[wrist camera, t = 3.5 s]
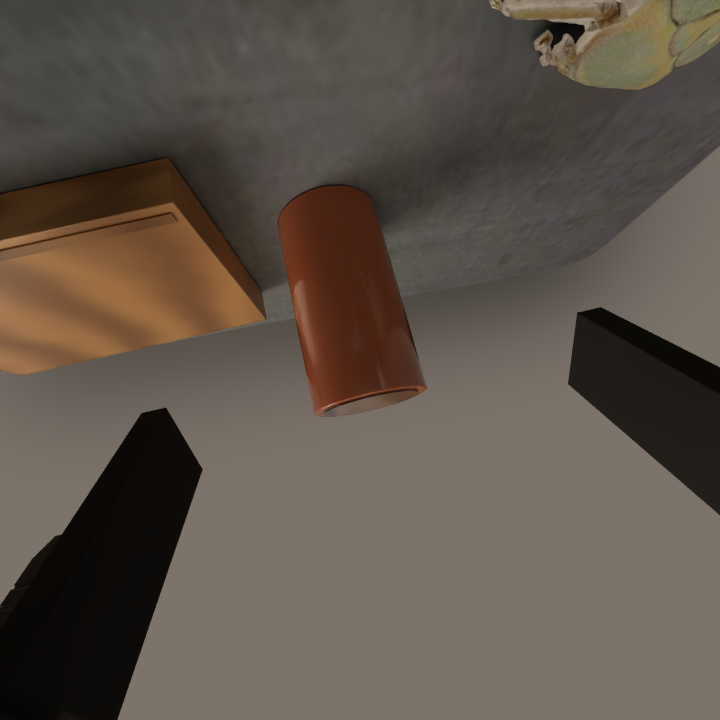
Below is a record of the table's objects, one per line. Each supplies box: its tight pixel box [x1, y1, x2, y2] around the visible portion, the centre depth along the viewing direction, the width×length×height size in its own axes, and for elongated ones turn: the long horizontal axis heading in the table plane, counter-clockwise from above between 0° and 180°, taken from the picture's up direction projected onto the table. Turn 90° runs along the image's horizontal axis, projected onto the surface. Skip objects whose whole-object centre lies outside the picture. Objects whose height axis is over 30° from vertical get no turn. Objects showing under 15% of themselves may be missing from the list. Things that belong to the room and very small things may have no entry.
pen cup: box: [278, 185, 427, 417], centre depth 22 cm, size 6×6×12 cm
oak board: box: [0, 158, 266, 375], centre depth 22 cm, size 20×14×3 cm
